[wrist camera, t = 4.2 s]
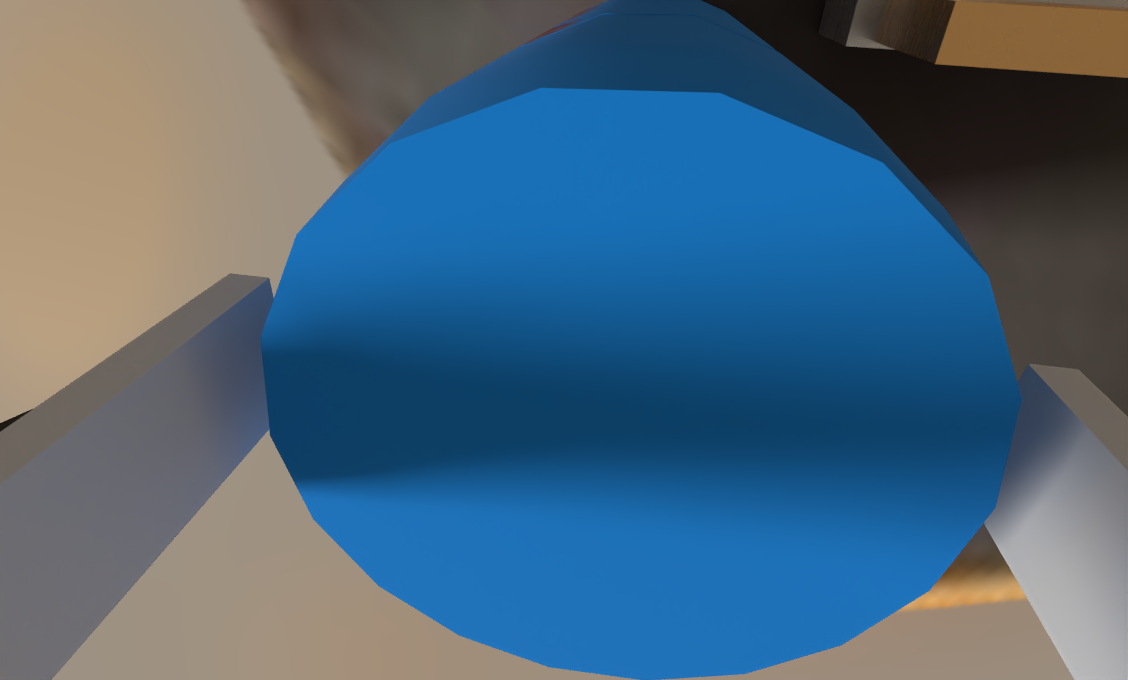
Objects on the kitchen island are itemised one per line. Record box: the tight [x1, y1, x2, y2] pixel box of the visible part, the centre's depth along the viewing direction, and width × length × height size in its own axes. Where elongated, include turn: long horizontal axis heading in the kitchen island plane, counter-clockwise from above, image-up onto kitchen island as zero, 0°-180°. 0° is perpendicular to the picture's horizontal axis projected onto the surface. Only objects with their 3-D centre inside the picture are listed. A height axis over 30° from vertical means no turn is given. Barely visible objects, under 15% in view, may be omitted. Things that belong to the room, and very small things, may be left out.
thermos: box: [260, 0, 1022, 680], centre depth 20 cm, size 11×11×25 cm
